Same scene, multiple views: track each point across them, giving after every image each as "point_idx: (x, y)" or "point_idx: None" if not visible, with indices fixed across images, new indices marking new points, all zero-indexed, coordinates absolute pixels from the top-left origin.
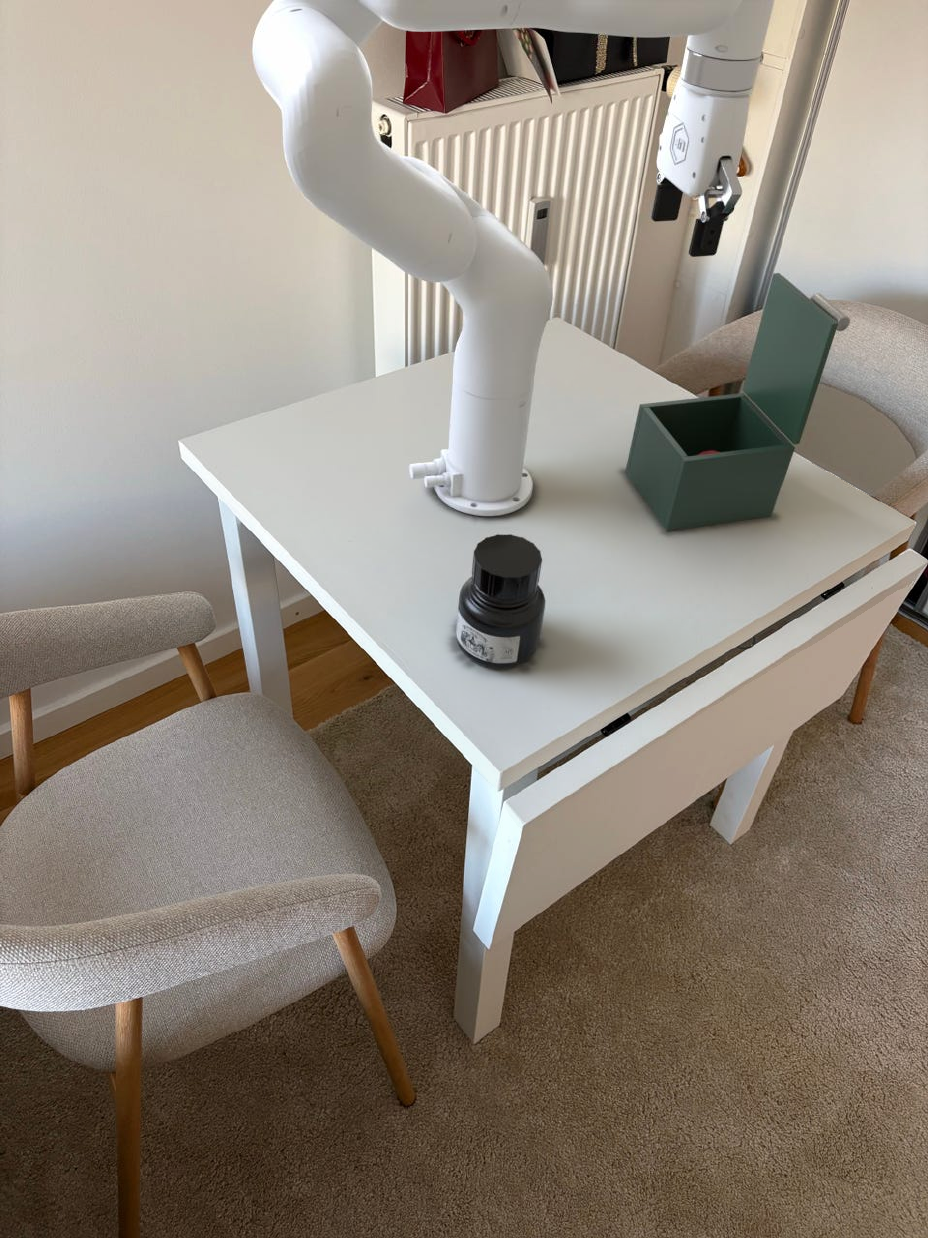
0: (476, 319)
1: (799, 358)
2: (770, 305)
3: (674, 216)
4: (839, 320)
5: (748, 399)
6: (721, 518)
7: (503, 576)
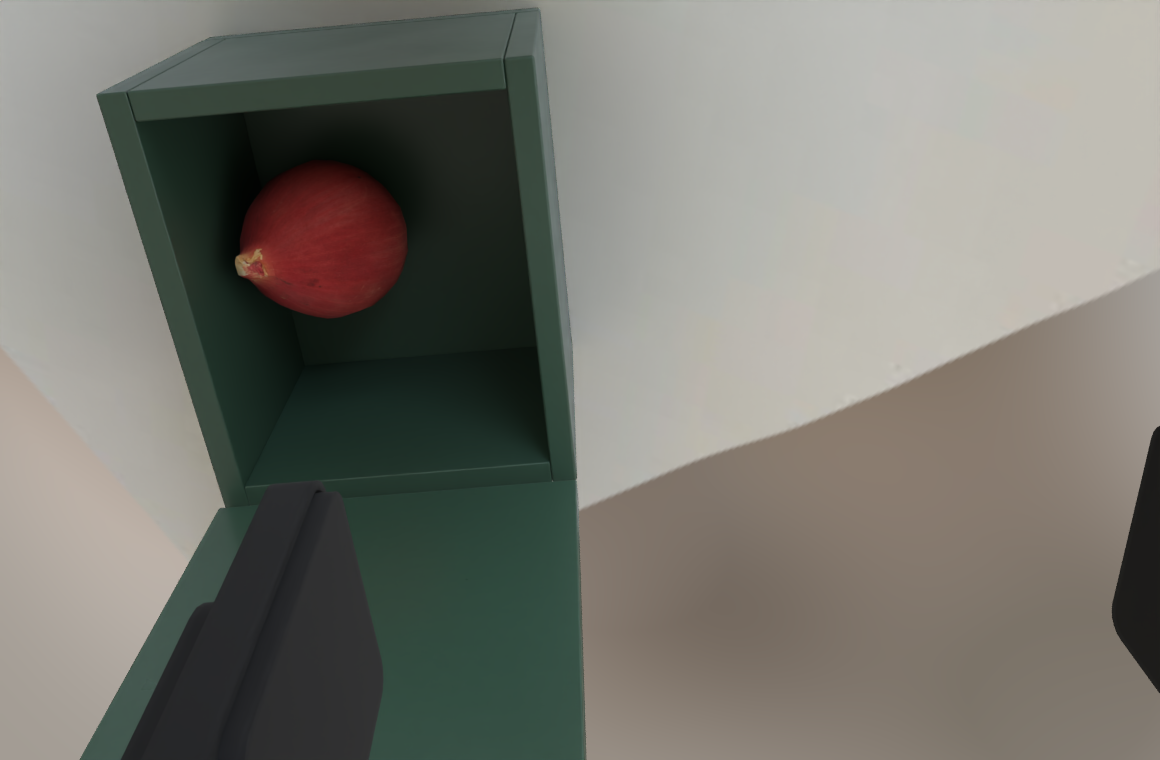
0: None
1: None
2: (537, 752)
3: (1134, 618)
4: None
5: (531, 479)
6: None
7: None
